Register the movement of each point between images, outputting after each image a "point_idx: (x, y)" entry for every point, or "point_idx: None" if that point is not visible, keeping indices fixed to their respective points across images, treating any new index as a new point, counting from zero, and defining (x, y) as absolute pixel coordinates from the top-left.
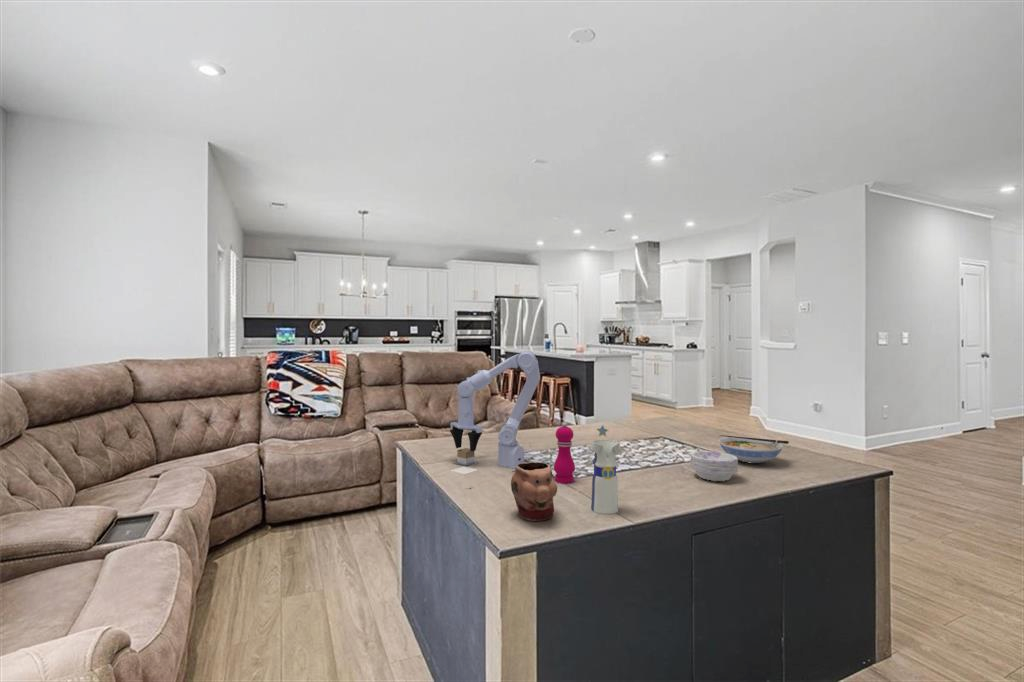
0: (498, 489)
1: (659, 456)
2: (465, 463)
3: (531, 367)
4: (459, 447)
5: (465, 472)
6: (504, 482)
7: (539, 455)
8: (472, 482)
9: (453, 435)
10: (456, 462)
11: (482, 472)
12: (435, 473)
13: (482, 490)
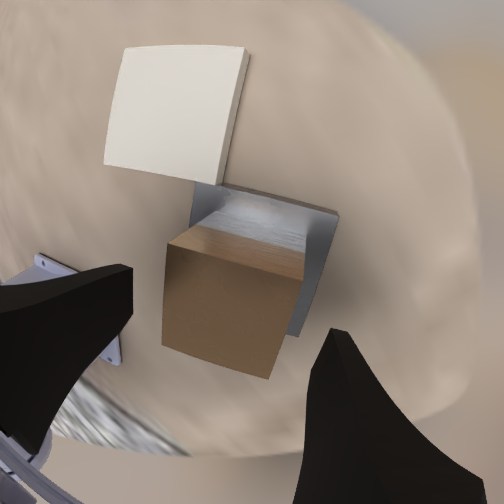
0: (10, 64)
1: None
2: (215, 216)
3: None
4: (318, 356)
5: (133, 76)
6: (11, 128)
7: (123, 440)
8: (80, 38)
9: (401, 442)
10: (326, 255)
11: (107, 189)
12: (346, 27)
13: (37, 19)
